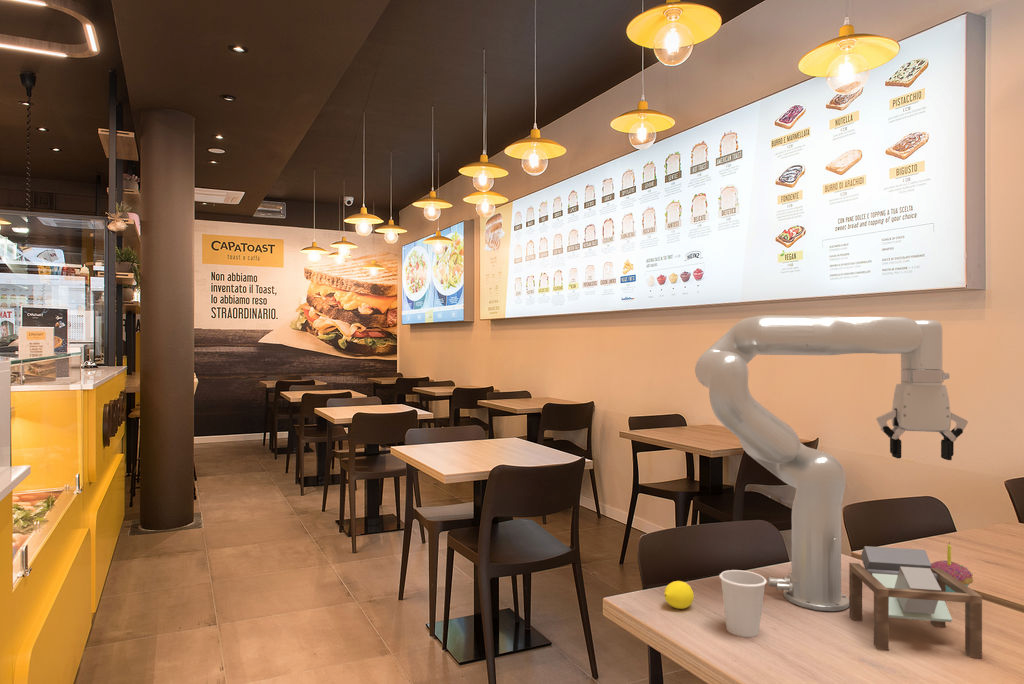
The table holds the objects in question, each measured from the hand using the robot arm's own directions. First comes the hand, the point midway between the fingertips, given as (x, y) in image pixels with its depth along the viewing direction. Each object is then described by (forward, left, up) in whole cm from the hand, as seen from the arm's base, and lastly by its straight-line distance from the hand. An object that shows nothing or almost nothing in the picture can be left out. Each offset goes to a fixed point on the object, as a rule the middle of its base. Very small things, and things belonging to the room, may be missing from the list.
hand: (921, 458), depth 138 cm
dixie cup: (-40, -23, -31) cm, 55 cm away
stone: (-10, -20, -24) cm, 33 cm away
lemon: (-51, -14, -31) cm, 61 cm away
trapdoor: (-9, -15, -23) cm, 29 cm away
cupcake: (+8, +6, -31) cm, 32 cm away
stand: (-10, -19, -30) cm, 37 cm away
